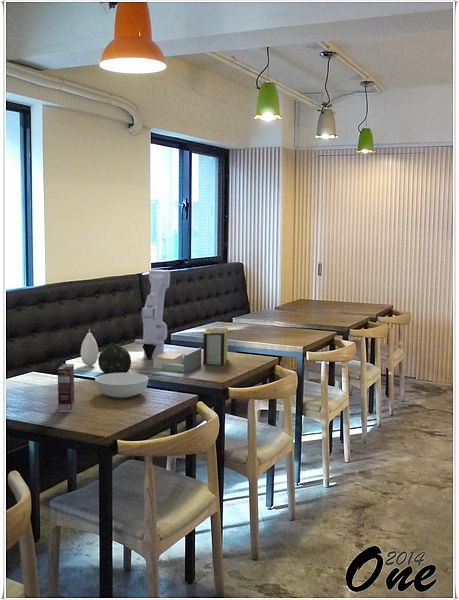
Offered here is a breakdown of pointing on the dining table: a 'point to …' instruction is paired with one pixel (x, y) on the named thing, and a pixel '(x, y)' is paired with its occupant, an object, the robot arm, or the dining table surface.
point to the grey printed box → (186, 362)
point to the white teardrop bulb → (89, 350)
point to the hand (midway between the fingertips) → (149, 359)
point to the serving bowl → (121, 384)
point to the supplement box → (66, 388)
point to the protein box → (215, 346)
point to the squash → (114, 359)
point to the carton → (168, 359)
